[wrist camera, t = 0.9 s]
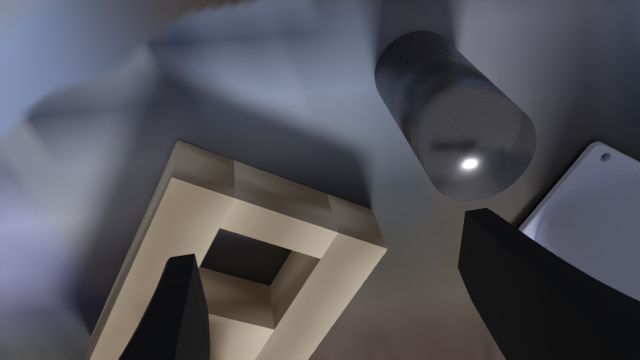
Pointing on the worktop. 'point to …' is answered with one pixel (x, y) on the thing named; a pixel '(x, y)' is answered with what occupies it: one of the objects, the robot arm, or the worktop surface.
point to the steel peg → (454, 117)
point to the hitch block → (233, 292)
